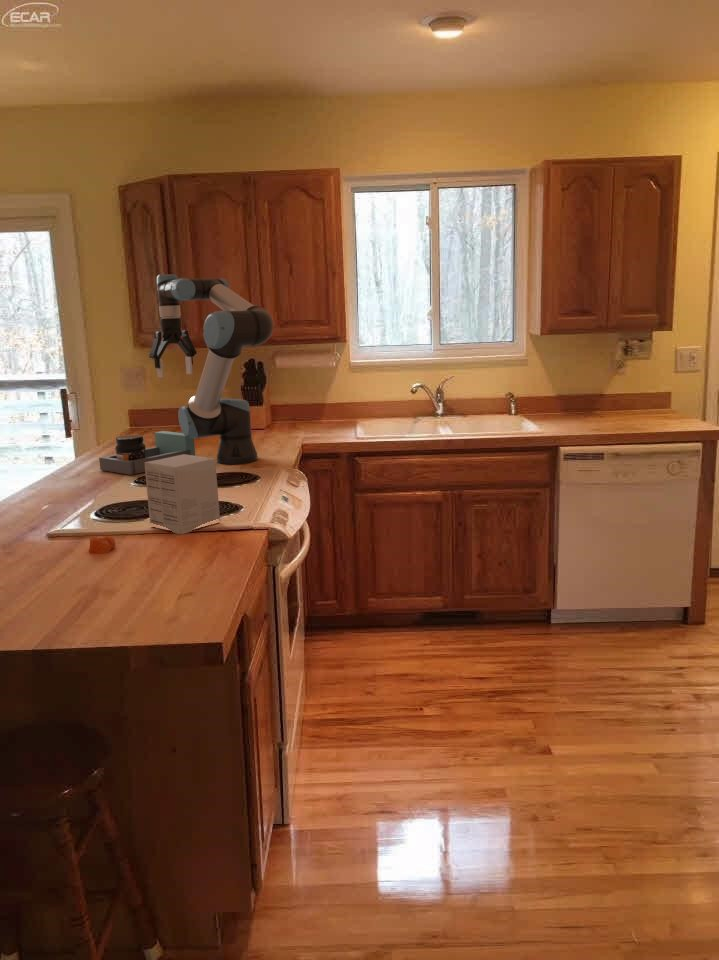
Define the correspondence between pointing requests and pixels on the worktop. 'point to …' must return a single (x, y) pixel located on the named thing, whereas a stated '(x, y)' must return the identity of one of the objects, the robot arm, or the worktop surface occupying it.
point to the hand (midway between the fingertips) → (175, 375)
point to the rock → (101, 545)
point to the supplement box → (182, 492)
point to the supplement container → (130, 447)
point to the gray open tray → (151, 453)
